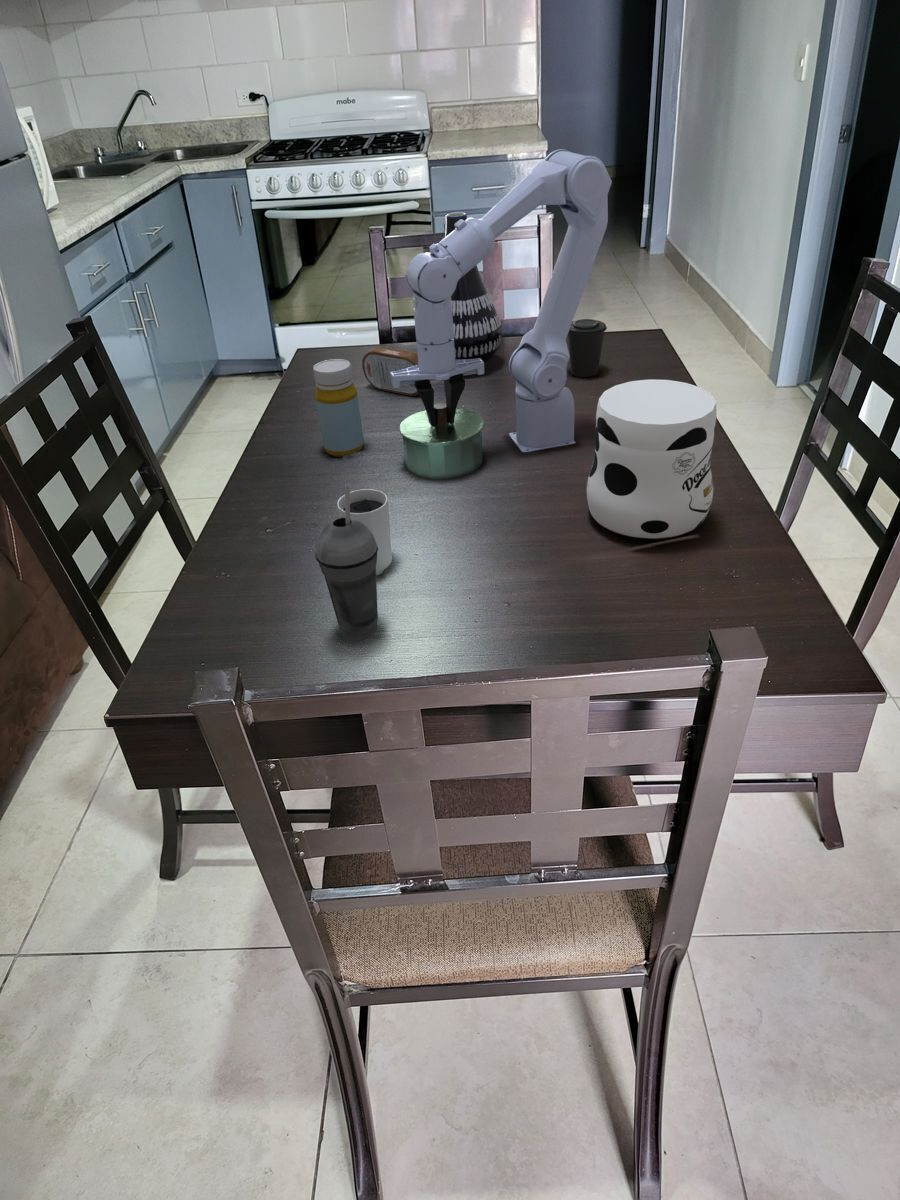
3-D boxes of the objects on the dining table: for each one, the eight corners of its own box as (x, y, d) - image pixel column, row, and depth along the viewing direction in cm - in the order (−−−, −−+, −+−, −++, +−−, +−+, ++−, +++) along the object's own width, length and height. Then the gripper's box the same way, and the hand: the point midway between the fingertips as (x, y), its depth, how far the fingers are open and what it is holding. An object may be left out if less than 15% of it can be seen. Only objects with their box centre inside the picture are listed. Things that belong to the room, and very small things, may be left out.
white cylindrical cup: (341, 559, 117) (330, 496, 111) (385, 547, 119) (377, 484, 113) (355, 583, 112) (345, 518, 106) (402, 570, 113) (394, 505, 108)
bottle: (358, 458, 142) (345, 373, 133) (319, 457, 143) (304, 373, 135) (369, 440, 148) (358, 358, 139) (331, 439, 149) (318, 357, 140)
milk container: (729, 541, 114) (749, 418, 103) (607, 559, 112) (614, 436, 102) (680, 483, 128) (693, 369, 117) (571, 499, 126) (573, 384, 116)
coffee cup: (607, 378, 163) (610, 327, 158) (566, 380, 164) (567, 330, 158) (602, 363, 170) (604, 314, 164) (562, 365, 170) (562, 316, 164)
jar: (470, 442, 145) (468, 407, 141) (491, 473, 135) (490, 437, 131) (399, 454, 142) (395, 419, 139) (415, 487, 132) (412, 450, 129)
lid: (471, 408, 142) (469, 384, 139) (494, 440, 131) (493, 415, 128) (392, 421, 139) (390, 396, 137) (410, 455, 128) (407, 429, 126)
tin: (433, 394, 163) (430, 352, 158) (424, 400, 161) (420, 357, 156) (371, 383, 170) (366, 342, 165) (362, 388, 168) (357, 347, 163)
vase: (411, 368, 175) (397, 217, 158) (465, 347, 183) (457, 201, 166) (463, 386, 165) (454, 227, 148) (518, 363, 174) (516, 210, 156)
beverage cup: (331, 615, 106) (304, 474, 94) (388, 609, 106) (369, 468, 95) (329, 651, 100) (301, 505, 88) (389, 645, 100) (369, 499, 89)
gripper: (393, 354, 122) (402, 440, 130) (488, 340, 124) (491, 424, 132) (384, 339, 127) (393, 422, 135) (475, 326, 130) (479, 408, 138)
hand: (441, 422), depth 134 cm, fingers closed on lid, 2 cm apart
